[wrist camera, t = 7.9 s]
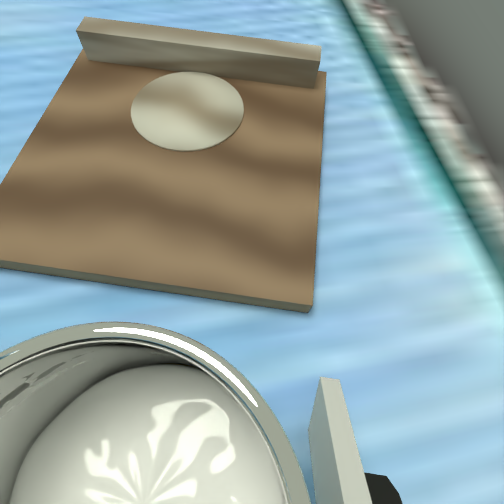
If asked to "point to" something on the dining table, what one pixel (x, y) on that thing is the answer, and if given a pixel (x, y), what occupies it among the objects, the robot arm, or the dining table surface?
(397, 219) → the dining table surface
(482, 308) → the dining table surface
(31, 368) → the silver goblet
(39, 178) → the walnut board
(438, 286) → the dining table surface
